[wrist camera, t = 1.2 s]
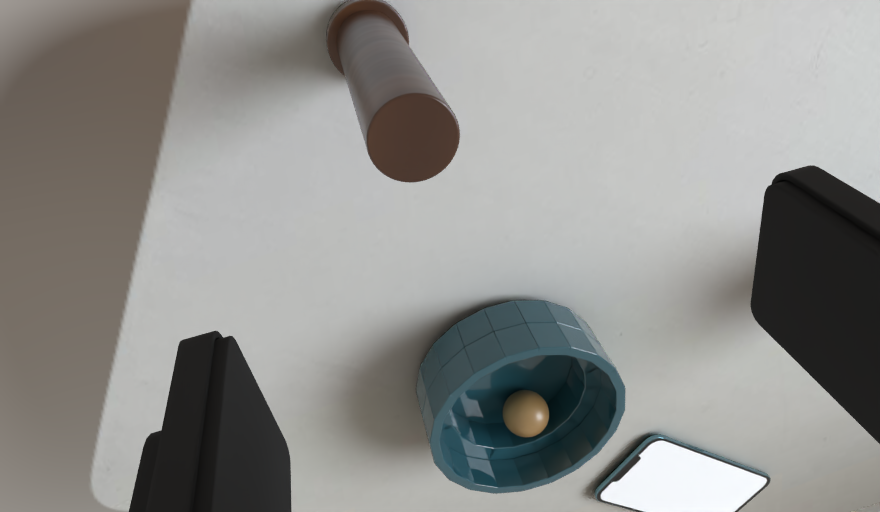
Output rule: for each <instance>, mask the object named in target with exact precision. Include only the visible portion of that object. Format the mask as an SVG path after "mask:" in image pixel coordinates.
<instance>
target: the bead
mask: <svg viewBox="0 0 880 512" xmlns="http://www.w3.org/2000/svg"><path fill="white" fill-rule="evenodd" d="M503 420H504V423H505V425H506V426H507V428H508V429H509V430H510V431H511V432H512V433H514V434H515V435H517V436H520V437H533V436H536V435H538V434H539V433H541V432H542V431H543V430H544V429H545V427H546V425H547V423H548V420H549V409H548V406H547V403H546V402H545V400H544V399H543V398H542V397H541V396H540V395H539V394H537V393H536V392H534V391H530V390H520V391H517V392H515V393H513V394H511V395H510V396H509V397H508V398H507V400H506V401H505V403H504V406H503Z"/></svg>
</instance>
